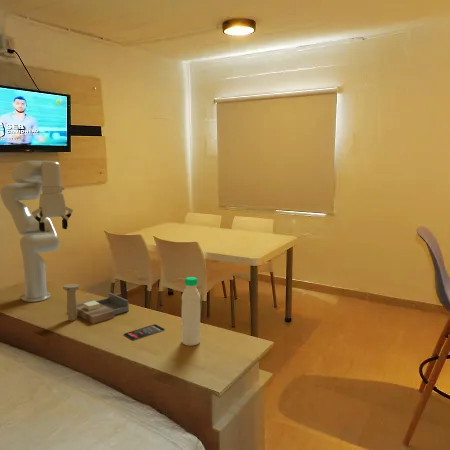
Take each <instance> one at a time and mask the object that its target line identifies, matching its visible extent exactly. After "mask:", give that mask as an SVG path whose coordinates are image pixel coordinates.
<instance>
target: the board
mask: <svg viewBox="0 0 450 450" xmlns="http://www.w3.org/2000/svg"><path fill="white" fill-rule="evenodd" d="M91 301H94V300H93V299H87V300H83V301H80V302H77V317H80V318H81V319H84V320H85V321H86V322H88V323H91V324H92V325H94V324H96V323H97V324H98V323H101V322H105V321H107V320H110V319H115V316H114V311H113V310H111V309H109V308H107V307H105V306H103V305H101V304H100V308H98V309H94V310H90V311H89V310H87V309H85V308H84V303H87V302H91Z"/></svg>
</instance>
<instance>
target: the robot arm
mask: <svg viewBox="0 0 450 450" xmlns="http://www.w3.org/2000/svg"><path fill="white" fill-rule="evenodd" d="M61 174H62V173H61V163H59V162H58V161H53V160H33V159H32V160H23V161H20V162H18V164H17V166H15V167H14V168H13V169H12V171H11V175H10V176H11V178H12V179H13V181H14V182H15V183H14V182H13V183H8V184H4V185H3V186H2V187H1V189H0V198H1V201H2V204H3V205H4V207H5V209H6V210H7V211H8V212H9V214H10V215H11V217H12V220H13V223H14V225H15V228H16V230H17V232H18V234H19V235H21V236H22V237H21V238H20V240H19V247H20V252H21V254H22V255H21V256H22V261H23V262H22V263H23V279H24V293H25V294H23V295H22V297H21V300H22V301H23V302H29V303H33V302H35V303H36V302H42V301H45V300H47V299H48V300H49V298H51V293H50V292H49V291H47V273H46V271H47V270H46V261H45V259H44V258H43V257H42V256H41V255H40V254H42V253H48V252H53V251H57V250H58V249H59V247H60V245H61V241H60V238H59V235H58V233H57V231H56V228H55V226H54V224H53V222H52V219H51V218H59V217H61V218H62V220H61V225H62V226H61V228H62V230H67V229H68V227H69V225H68V223H69V222H68V220H69V218H70V217H71V216H72V214H73V211H74V209H72V208H70V207H68V206H66V201H65V197H64V194H63V191H65V188H64V187H62V177H61ZM38 198H39V202H38V208H36V210H33V211H32V212H31V210H30V208H29V207H28V206H27V205H26V204H24V203H23V202H21V201H30V200H33V201H34V200H37V199H38ZM66 211H67V212H66Z"/></svg>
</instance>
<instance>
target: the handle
mask: <svg viewBox="0 0 450 450" xmlns="http://www.w3.org/2000/svg"><path fill="white" fill-rule="evenodd" d="M62 289H63V290H64V291H65V292H66V312H67V319H68V321H70V322H73V321H76V320H77V317H78V315H77V303H78V302H77V293H76V291H77V290H79V289H80V284H77V283H66V284H63V285H62Z"/></svg>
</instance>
